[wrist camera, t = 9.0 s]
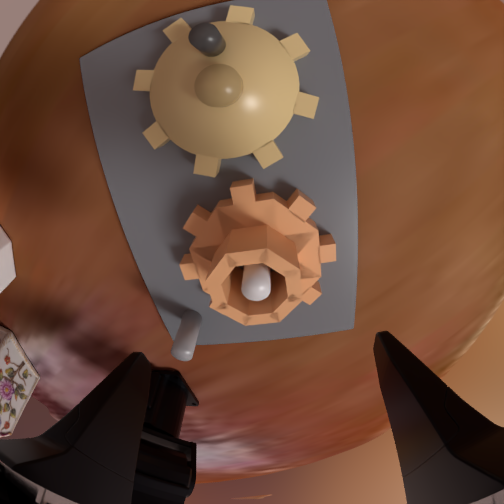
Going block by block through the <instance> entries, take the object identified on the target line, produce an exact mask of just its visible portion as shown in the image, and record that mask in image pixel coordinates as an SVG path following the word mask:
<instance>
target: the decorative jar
mask: <svg viewBox="0 0 504 504" xmlns="http://www.w3.org/2000/svg"><path fill="white" fill-rule="evenodd" d="M39 379H40V376H39V374H38V373H37V371H36V370H35V368H34V367H33V365H32V364H31V362H30V361H29V359H28V358H27V356H26V354H25V353H24V351H23V349H22V348H21V346H20V344H19V343H18V341H17V339H16V338H15V336H14V334H13V333H12V332H11V331H10V330H8V329H6V328H4V327H2V326H0V438H1V437H3V436H4V437H5V436H10V435H11V434H12V433H13V430H14V428H15V426H16V423H17V421H18V419H19V417H20V416H21V414H22V411H23V410H24V408H25V406H26V404H27V402H28V400H29V398H30V396H31V394H32V392H33V390H34V389H35V386H36V384H37V383H38V381H39Z"/></svg>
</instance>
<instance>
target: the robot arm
mask: <svg viewBox="0 0 504 504" xmlns="http://www.w3.org/2000/svg"><path fill="white" fill-rule="evenodd" d="M373 350H374V356H375V362H376V367H377V372H378V378H379V384H380V388H381V392H382V396H383V399H384V403H385V406H386V410H387V413H388V417H389V421H390V424H391V428H392V432H393V436H394V440H395V444H396V449H397V453H398V457H399V462H400V467H401V472H402V476H403V482H404V488H405V493H406V499H407V504H504V427H500V426H498V425H496V424H494V423H493V422H491V421H490V420H489V419H487V418H486V417H485V416H483V415H482V414H481V413H479V412H478V411H477V410H475V409H474V408H473V407H471V406H470V405H469V404H468V403H466V402H465V401H464V400H462V399H461V398H460V397H459V396H458V395H457V394H456V393H455V392H454V391H453V390H452V389H451V388H450V387H447V385H446V384H445V383H444V382H443V381H442V380H441V379H440V378H439V377H438V376H437V375H436V374H435V373H433V372H432V371H431V370H430V369H429V368H428V367H427V366H426V365H425V364H424V363H423V362H422V361H420V360H419V359H418V358H417V357H416V356H415V355H414V354H413V353H412V352H411V351H409V350H408V349H407V348H406V347H405V346H404V345H403V344H402V343H401V342H400V341H398V340H397V339H396V338H395V337H394V336H393V335H392V334H391V333H389V332H388V331H381V332H377V334H376V337H375V342H374V347H373ZM198 405H199V401H198V400H197V398H196V397H195V395H194V394H193V392H192V391H191V389H190V388H189V386H188V385H187V383H186V381H185V380H184V378H183V377H182V375H181V374H180V373H179V372H176V371H152V370H151V364H150V363H149V361H148V360H147V358H146V357H145V355H144V354H143V353H142V352H133V353H131V354H130V355H129V356H128V357H127V358H126V359H125V360H124V361H123V362H122V363H121V364H120V365H119V366H118V367H117V368H115V369H114V370H113V371H112V372H111V373H110V374H109V375H108V376H107V377H106V378H105V379H104V380H103V381H102V382H101V383H100V384H99V385H97V386H96V387H95V388H94V389H93V390H92V391H91V392H90V393H89V394H88V395H87V396H86V397H85V398H84V399H83V400H82V401H81V402H80V403H79V404H77V405H76V406H75V407H74V408H73V409H72V410H71V411H70V412H69V413H68V414H67V415H66V416H64V417H63V418H62V419H61V420H60V421H58V422H57V423H56V424H55V425H53V426H52V427H51V428H50V429H48V430H47V431H46V432H44V433H43V434H42V435H40V436H38V437H34V438H26V439H9V440H0V460H1V461H2V462H3V463H5V465H4V464H3V463H1V462H0V504H184V501H185V498H186V497H188V496H190V495H191V493H192V491H193V489H194V485H195V481H196V443H194V442H188V441H185V440H181V439H179V435H180V431H181V426H182V421H183V417H184V412H185V408H186V406H198Z"/></svg>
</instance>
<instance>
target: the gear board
mask: <svg viewBox="0 0 504 504" xmlns="http://www.w3.org/2000/svg"><path fill="white" fill-rule="evenodd" d="M79 59H80V66H81V73H82V80H83V85H84V91H85V96H86V102H87V107H88V111H89V116H90V121H91V125H92V129H93V133H94V137H95V141H96V145H97V149H98V153H99V156H100V160H101V164H102V167H103V170H104V174H105V177H106V180H107V184H108V187H109V190H110V193H111V196H112V199H113V202H114V205H115V208H116V211H117V214H118V216H119V219H120V222H121V225H122V227H123V230H124V233H125V235H126V238H127V241H128V243H129V246H130V248H131V251H132V253H133V256H134V258H135V260H136V263H137V265H138V268H139V270H140V272H141V275H142V277H143V279H144V281H145V284H146V286H147V288H148V290H149V292H150V295H151V297H152V299H153V301H154V303H155V305H156V307H157V309H158V311H159V313H160V316H161V318H162V320H163V322H164V324H165V326H166V328H167V329H168V331H169V333H170V335H171V337H172V339H173V341H174V343H173V346H172V349H171V354H172V355H173V356H174V357H175V358H177V359H179V360H182V361H188V360H191V359H192V356H193V352H194V348H195V345H208V344H226V343H241V342H254V341H265V340H275V339H284V338H293V337H301V336H309V335H316V334H323V333H330V332H336V331H342V330H348V329H353V328H354V317H355V304H356V287H357V262H358V209H357V184H356V168H355V155H354V144H353V134H352V125H351V117H350V110H349V102H348V96H347V89H346V83H345V78H344V72H343V67H342V62H341V57H340V52H339V47H338V43H337V38H336V34H335V30H334V26H333V22H332V18H331V14H330V11H329V7H328V4H327V0H233V1H228V2H223V3H218V4H214V5H210V6H206V7H202V8H198V9H194V10H191V11H187V12H184V13H181V14H177V15H174V16H171V17H168V18H165V19H162V20H160V21H157V22H154V23H152V24H149V25H146V26H144V27H141V28H139V29H137V30H134V31H132V32H130V33H127V34H125V35H123V36H121V37H119V38H117V39H115V40H112V41H110V42H108V43H106V44H104V45H103V46H101V47H99V48H97V49H95V50H93V51H91V52H90V53H88V54H86V55H84V56H83V57H81V58H79ZM252 178H253V180H254V185H255V190H256V194H261V193H268V192H274V193H276V194H277V195H278V196H280V197H281V198H283V199H284V200H286V201H287V200H288V199H289V198H290V196H291V195H292V194H293V193H294V191H295V190H296V189H298V190H300V191H301V192H302V193H304V194H305V195H306V196H308V197H309V198H310V199H312V200H313V202H314V204H315V206H316V209H315V210H314V212H313V213H312V214H311V215H310V216H309V218H311V219H312V220H313V221H315V223H316V226H317V228H318V232H319V236H320V235H327V234H332V237H333V239H334V241H335V243H336V261H333V262H326V263H321V277H320V278H319V279H318V280H317V281H318V282H319V284H320V287H321V291H322V294H321V295H320V296H319V297H318V298H317V299H316V300H315V301H314V302H313V303H312V304H311V305H309V304H307V303H305V302H304V301H302V302H300V303H299V304H298V305H297V306H296V307H295V308H294V309H293V310H292V311H291V312H290V313H289V314H288V315H287V316H286V317H285V318H284V319H283V320H281V321H280V322H277V323H267V324H258V325H247V326H245V325H243V324H241V323H239V322H237V321H235V320H233V319H231V318H229V317H228V316H226V315H223V314H221V313H219V312H218V311H216V310H214V309H212V308H210V307H209V304H210V300H211V296H210V294H208V293H206V292H204V291H203V289H202V286H201V283H200V280H199V279H192V280H185V279H184V276H183V274H182V271H181V268H180V265H179V264H180V262H181V260H182V258H183V256H184V254H190V250H189V248H190V246H191V244H192V242H193V240H194V239H195V237H196V236H194V235H193V234H191V233H190V232H188V231H186V230H185V229H183V227H184V225H185V224H186V222H187V220H188V219H189V217H190V215H191V214H192V212H193V211H194V209H195V208H196V206H197V205H199V206H201V207H203V208H204V209H206V210H207V211H209V212H211V213H212V211H213V210H214V208H215V207H216V205H217V204H218V202H219V201H220V200H224V199H230V198H232V196H231V191H230V187H231V184H232V182H234V181H240V180H245V179H252ZM238 267H239V268H241V269H243V270H244V272H243V280H242V288H241V290H242V294H243V295H244V296H245V297H246V298H247V299H249V300H252V301H260V300H263V299H265V298H267V297H268V296H269V294H270V291H271V283H270V272H272V271H273V270H274V269H272V268H270V267H269V266H267V265H265V264H264V263H259V264H251V265H243V266H238Z"/></svg>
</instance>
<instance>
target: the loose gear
mask: <svg viewBox="0 0 504 504" xmlns="http://www.w3.org/2000/svg"><path fill="white" fill-rule="evenodd" d="M230 191H231V196H232V198H230V199H224V200H220V201H219V202H218V204H217V205H216V207H215V208H214V210H213V211H212V213H211V212H209V211H207V210H206V209H204V208H203V207H201V206H199V205H197V206H196V208H195V209H194V211H193V212H192V214H191V215H190V217H189V219H188V220H187V222H186V224H185V225H184V227H183V229H185V230H186V231H188V232H190V233H191V234H193V235H194V236H196V237H195V239H194V240H193V242H192V244H191V246H190V248H189V250H190V254H184V256H183V258H182V260H181V262H180V264H179V265H180V268H181V271H182V274H183V276H184V279H185V280H192V279H199V280H200V283H201V286H202V289H203V291H204V292H206V293H208V294H210V296H211V300H210V304H209V307H210V308H212V309H214V310H216V311H218V312H219V313H221V314H223V315H226V316H228V317H229V318H231V319H233V320H235V321H237V322H239V323H241V324H243V325H245V326H247V325H258V324H267V323H277V322H280V321H281V320H283V319H284V318H285V317H286V316H287V315H288V314H289V313H290V312H291V311H292V310H293V309H294V308H295V307H296V306H297V305H298V304H299V303H300V302H302V301H304V302H305V303H307V304H309V305H311V304H312V303H313V302H314V301H315V300H316V299H317V298H318V297H319V296H320V295H321V294H322V291H321V287H320V284H319V282H318V281H317V280H318V279H319V278H320V277H321V263H326V262H333V261H336V243H335V241H334V239H333V237H332V234H327V235H320V236H319V232H318V228H317V226H316V223H315V221H313V220H312V219H311V218H309V216H310V215H311V214H312V213H313V212H314V210H315V209H316V206H315V204H314V202H313V200H312V199H310V198H309V197H308V196H306V195H305V194H304V193H302V192H301V191H300V190H298V189H296V190H295V191H294V193H293V194H292V195H291V196H290V198H289V199H288V200H287V201H286V200H284V199H283V198H281V197H280V196H278V195H277V194H276V193H274V192H268V193H261V194H256V190H255V185H254V180H253V178H252V179H245V180H240V181H234V182H232V184H231V187H230ZM259 263H264V264H265V265H267V266H269V267H270V268H272V269H274V270H273V271H272V272H270V283H271V291H270V294H269V296H268V297H267V298H265V299H263V300H260V301H252V300H249V299H247V298H246V297H245V296H244V295H243V294H242V290H241V288H242V280H243V272H244V270H243V269H241V268H239V267H238V266H243V265H251V264H259Z"/></svg>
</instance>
